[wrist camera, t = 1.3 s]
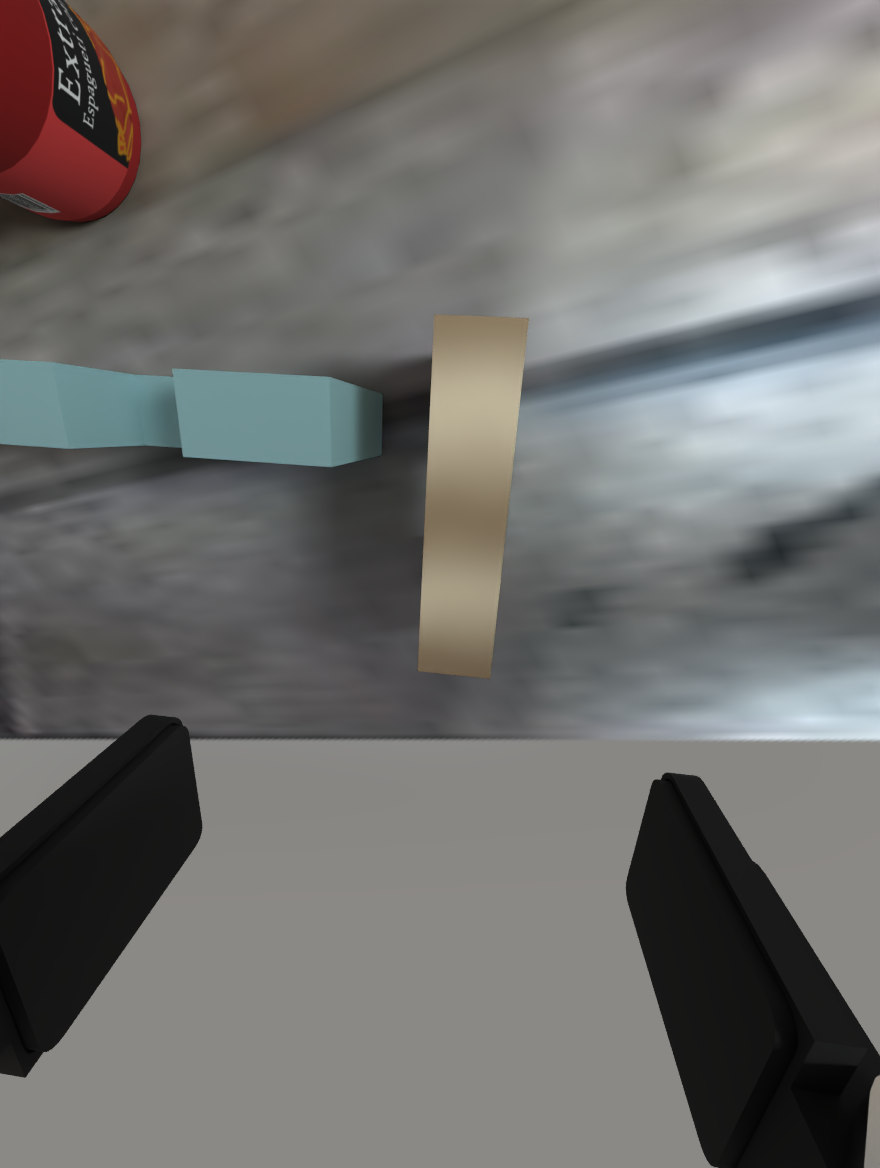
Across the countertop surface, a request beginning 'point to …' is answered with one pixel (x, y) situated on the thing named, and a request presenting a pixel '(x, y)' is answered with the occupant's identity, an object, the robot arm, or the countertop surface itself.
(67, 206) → the canned food
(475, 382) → the beige flat block
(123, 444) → the light blue block
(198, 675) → the countertop surface
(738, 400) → the countertop surface
